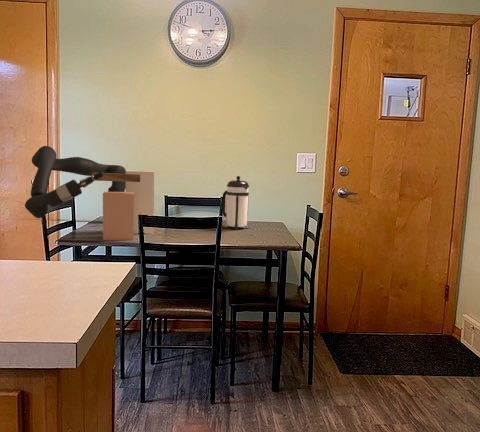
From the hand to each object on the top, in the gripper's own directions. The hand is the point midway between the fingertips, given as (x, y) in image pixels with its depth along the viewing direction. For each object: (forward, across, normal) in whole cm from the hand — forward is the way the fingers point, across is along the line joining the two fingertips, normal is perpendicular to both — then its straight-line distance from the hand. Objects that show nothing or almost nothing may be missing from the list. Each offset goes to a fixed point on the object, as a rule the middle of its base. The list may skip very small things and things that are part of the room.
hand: (102, 173), depth 210 cm
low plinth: (-9, 0, +31) cm, 32 cm away
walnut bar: (+4, 0, +6) cm, 7 cm away
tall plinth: (0, +15, +36) cm, 39 cm away
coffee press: (+47, +27, +62) cm, 82 cm away
